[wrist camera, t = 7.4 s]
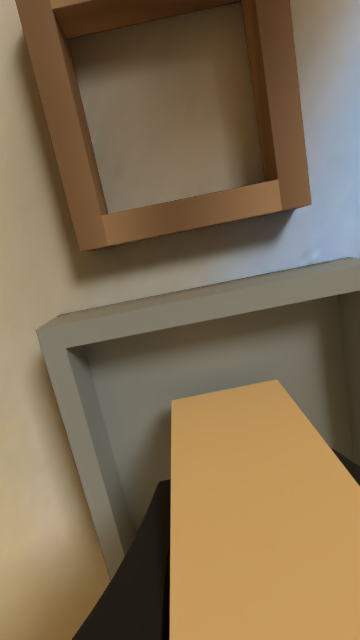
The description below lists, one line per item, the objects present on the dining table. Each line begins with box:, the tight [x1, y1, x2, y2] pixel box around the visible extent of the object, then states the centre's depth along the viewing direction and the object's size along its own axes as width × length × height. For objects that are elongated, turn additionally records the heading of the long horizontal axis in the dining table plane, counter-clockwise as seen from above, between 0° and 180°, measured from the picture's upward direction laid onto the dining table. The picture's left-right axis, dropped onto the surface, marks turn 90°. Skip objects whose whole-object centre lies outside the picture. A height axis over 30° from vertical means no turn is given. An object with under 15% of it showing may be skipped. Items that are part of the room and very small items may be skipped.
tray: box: [36, 257, 360, 580], centre depth 14 cm, size 12×12×2 cm
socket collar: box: [15, 0, 311, 251], centre depth 11 cm, size 8×8×2 cm
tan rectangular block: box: [170, 379, 360, 640], centre depth 9 cm, size 4×4×9 cm
